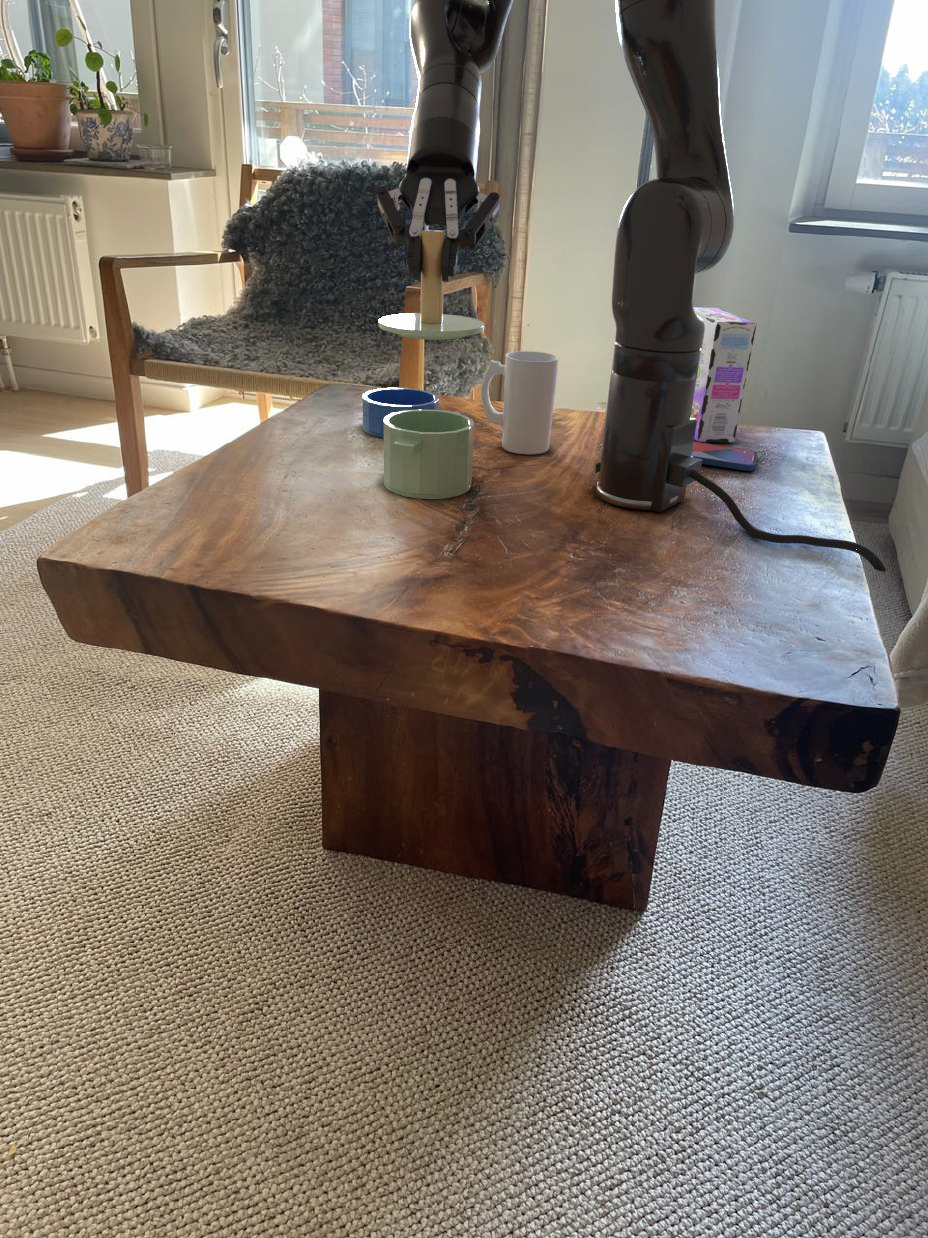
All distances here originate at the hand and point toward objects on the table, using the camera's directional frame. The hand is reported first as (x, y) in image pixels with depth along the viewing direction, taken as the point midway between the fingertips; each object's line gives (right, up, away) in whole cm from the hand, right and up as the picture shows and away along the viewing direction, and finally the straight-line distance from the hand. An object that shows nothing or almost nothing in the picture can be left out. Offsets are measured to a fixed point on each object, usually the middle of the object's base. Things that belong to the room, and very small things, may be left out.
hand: (430, 274), depth 91 cm
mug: (+10, -12, +28) cm, 32 cm away
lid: (0, -4, +4) cm, 6 cm away
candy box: (+38, -8, +39) cm, 55 cm away
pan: (-5, -9, +33) cm, 34 cm away
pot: (-1, -20, +13) cm, 23 cm away
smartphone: (+34, -14, +27) cm, 46 cm away
